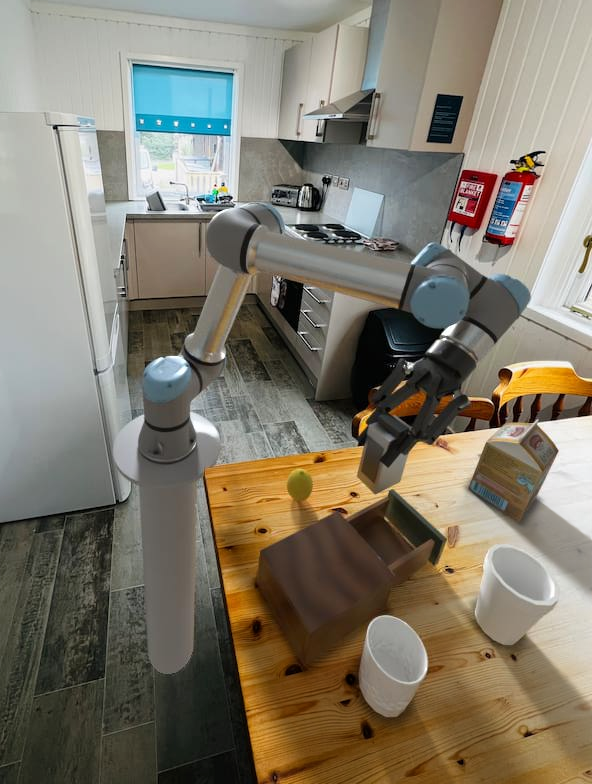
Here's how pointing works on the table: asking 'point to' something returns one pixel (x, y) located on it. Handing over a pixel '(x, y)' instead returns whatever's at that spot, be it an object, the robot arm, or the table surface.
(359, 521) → the drawer
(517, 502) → the milk carton
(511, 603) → the foam cup
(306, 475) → the lemon
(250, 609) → the table surface
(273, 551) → the cabinet
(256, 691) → the table surface
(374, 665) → the white cup
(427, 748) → the table surface
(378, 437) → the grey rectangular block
